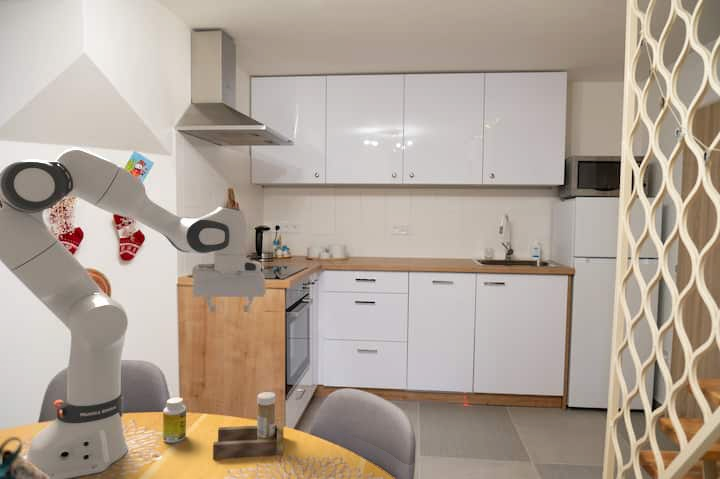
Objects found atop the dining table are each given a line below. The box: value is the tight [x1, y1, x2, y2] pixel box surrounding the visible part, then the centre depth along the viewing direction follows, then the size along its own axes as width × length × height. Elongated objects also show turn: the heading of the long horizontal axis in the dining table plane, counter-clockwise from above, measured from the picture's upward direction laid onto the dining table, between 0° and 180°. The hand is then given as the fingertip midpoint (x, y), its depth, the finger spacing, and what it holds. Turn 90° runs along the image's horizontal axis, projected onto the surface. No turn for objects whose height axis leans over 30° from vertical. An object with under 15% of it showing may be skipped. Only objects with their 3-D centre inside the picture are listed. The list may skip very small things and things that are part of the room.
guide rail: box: [212, 420, 285, 460], centre depth 115 cm, size 17×10×4 cm, turn 99°
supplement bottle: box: [162, 397, 187, 444], centre depth 119 cm, size 6×6×10 cm
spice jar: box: [256, 391, 277, 440], centre depth 116 cm, size 5×5×14 cm
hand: (229, 312), depth 131 cm, fingers open, 8 cm apart
